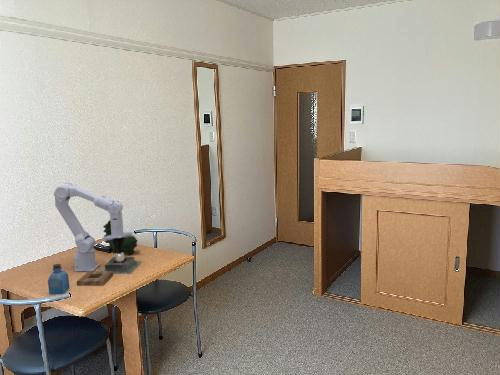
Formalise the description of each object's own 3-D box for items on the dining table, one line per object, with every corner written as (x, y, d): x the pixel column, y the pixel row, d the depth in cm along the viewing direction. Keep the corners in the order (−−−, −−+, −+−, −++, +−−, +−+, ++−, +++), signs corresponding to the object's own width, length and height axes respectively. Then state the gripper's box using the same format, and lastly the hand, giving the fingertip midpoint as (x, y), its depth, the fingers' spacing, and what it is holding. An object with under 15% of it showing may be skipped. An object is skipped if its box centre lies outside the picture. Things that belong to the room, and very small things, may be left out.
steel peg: (117, 268, 205) (116, 255, 203) (115, 266, 208) (114, 253, 207) (125, 267, 207) (124, 253, 205) (123, 264, 210) (122, 251, 209)
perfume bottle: (69, 288, 184) (66, 262, 182) (63, 293, 178) (61, 267, 176) (55, 288, 184) (52, 262, 182) (49, 294, 178) (46, 267, 176)
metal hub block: (98, 273, 200) (97, 266, 200) (110, 262, 216) (110, 255, 215) (130, 273, 199) (130, 266, 199) (141, 262, 215) (140, 255, 214)
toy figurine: (102, 254, 234) (132, 257, 220) (97, 221, 232) (127, 223, 218) (115, 249, 242) (145, 252, 228) (111, 218, 240) (141, 219, 226)
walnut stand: (77, 285, 187) (76, 281, 186) (88, 275, 198) (88, 271, 198) (103, 285, 186) (102, 281, 186) (113, 275, 198) (112, 271, 197)
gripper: (104, 230, 197) (106, 257, 200) (134, 225, 206) (135, 251, 208) (100, 227, 203) (102, 254, 205) (128, 222, 211) (130, 248, 214)
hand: (118, 252), depth 207 cm, fingers closed
